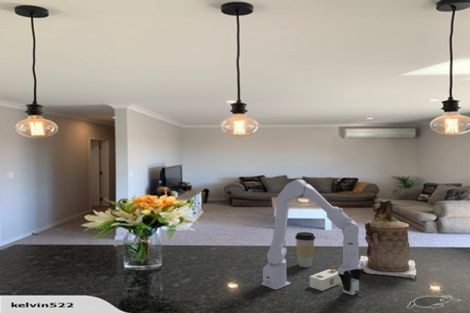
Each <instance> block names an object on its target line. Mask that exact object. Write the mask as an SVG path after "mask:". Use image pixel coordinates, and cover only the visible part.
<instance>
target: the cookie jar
mask: <svg viewBox="0 0 470 313" xmlns="http://www.w3.org/2000/svg"><path fill="white" fill-rule="evenodd" d="M394 205H395V203H394V202H392V200H391V199H388V200H380V201H379V203H375V204H373V205H372V210H373V212H374V213H376V214H374V217H373V218H372V219H370V220H368V221H366V222H365V224H364V229H365V237H364V239H365V241H366V244H367V250H366V255H365V256H364V255H360V256H359V261H363V267H361V268H363V269H364V272H363V273H366V274H370V275H381V276H382V275H384V276H394V277H401V278H407V279H412V280H415V278H416V276H417V269H416V263H415V260H413V259H410V258H411V255H410V253H411V250H410V249H411V247H410V246H411V245H410V242H409V233H408V230H409V228H410V224H409V223H407V222H402V221H399V220H398V219H397V218H395V217H394V216H393V213H392V212H393V210H392V209H393V206H394Z"/></svg>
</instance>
